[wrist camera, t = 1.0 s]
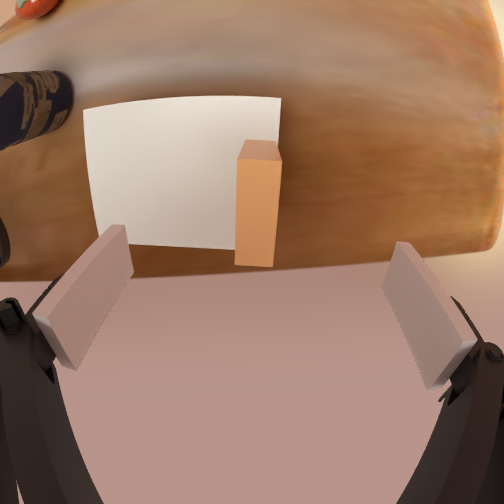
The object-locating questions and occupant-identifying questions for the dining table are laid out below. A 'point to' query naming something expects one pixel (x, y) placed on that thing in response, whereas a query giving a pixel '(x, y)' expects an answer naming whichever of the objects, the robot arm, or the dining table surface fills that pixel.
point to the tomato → (33, 8)
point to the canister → (31, 105)
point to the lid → (188, 172)
